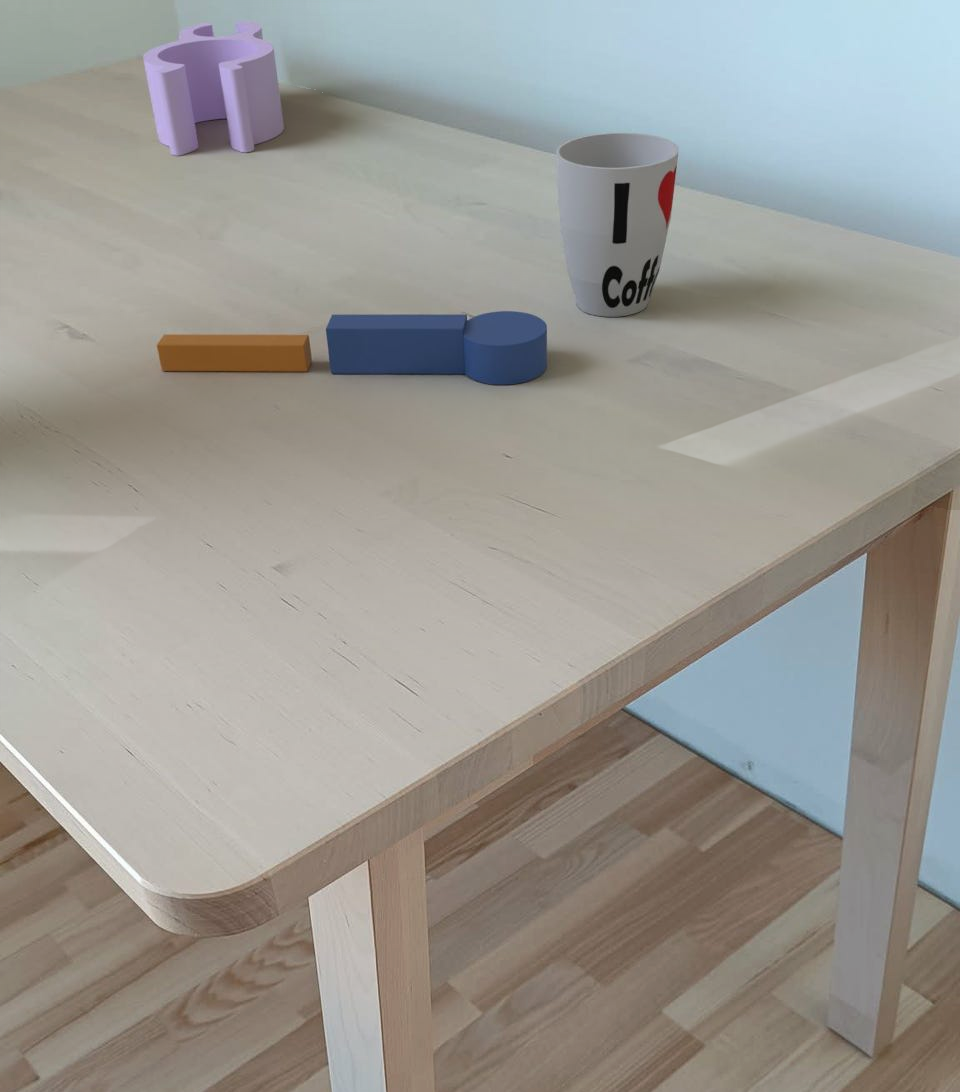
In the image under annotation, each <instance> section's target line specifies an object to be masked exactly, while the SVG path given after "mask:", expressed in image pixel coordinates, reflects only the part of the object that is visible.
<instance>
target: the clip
mask: <svg viewBox="0 0 960 1092" xmlns="http://www.w3.org/2000/svg"><path fill="white" fill-rule="evenodd" d="M262 29H263V28H262V25H261V24H259V23H257V22H252V21H246V20H242V21H237V22H235V31H236V33H234V34H229V35H222V36H221V35H219V36H214V35H215V34H214V29H213V24H212V23H211V22H204V23H203V22H202V23H197V24H194V25H190V26H187V27H185V28H184V27H183V28H182V29H180V31H178V37H179V39H177V40H175V41H172V42H168V43H165V44H161V45H157V46H156V47H153V48H151V49H149V50H147V51H146V52H145V53H144V54H143V55H142V59H143V65H144V69H145V75H146V81H147V86H148V92H149V96H150V101H151V107H152V112H153V118H154V122H155V128H156V132H157V133H156V134H157V138H158V141H159V143H161V144H162V145H164V146H167V147H169V150H170V155H171V156H176V157H177V156H178V157H179V156H184V155H186V154H189V153H192V152H194V151H197V149H199V141H198V135H197V128H196V124H197V123H201V122H206V121H211V120H212V121H213V120H223V119H224V120H225V119H226V122H227V127H228V133H229V140H230V146H231V147H232V149H233V150H234V151H238V152H239V153H240V152H241V153H250V152H255V145H259V144H262V143H264V142H267V141H270V140H272V139H274V138H276V137H278V136H279V135H281V134H282V133H283V131H284V129H285V125H284V118H283V117H284V116H283V110H282V102H281V94H280V86H279V79H278V70H277V62H276V55H275V48H274V47H275V46H274V44H273V43H272V42H270V41H268V40H265V39H264V35H263V30H262Z"/></svg>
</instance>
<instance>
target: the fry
mask: <svg viewBox="0 0 960 1092" xmlns="http://www.w3.org/2000/svg"><path fill="white" fill-rule="evenodd" d="M311 348H312V347H311V341H310V335H309V334H183V333H182V334H167V333H166V334H163V335H162V336H161V338H160V340H159V341H158V342H157V344H156V349H157V353H158V357H159V362H160V367H161V371H163V372H293V373H295V372H296V373H297V372H302V373H303V372H304V373H305V372H308V370H309V368H310V366H311V364H312V362H313V357H312V349H311Z"/></svg>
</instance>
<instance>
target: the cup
mask: <svg viewBox="0 0 960 1092" xmlns="http://www.w3.org/2000/svg"><path fill="white" fill-rule="evenodd" d="M679 151H680V148H679V146H678V144H676V143H675V142H674V141H672V140H669V139H668V138H665V137H661V136H657V135H652V134H646V133H636V132H609V133H608V132H606V133H597V134H590V135H585V136H580V137H576V138H573V139H570V140H568V141H566V142H563V143H562V144H560V145H559V146H558V147H557V148H556V150H555V159H556V176H557V177H556V178H557V197H558V199H557V200H558V217H559V225H560V232H561V237H562V243H563V245H562V246H563V250H564V259H565V264H566V270H567V274H568V277H569V281H570V284H571V288H572V291H573V294H574V298H575V302H576V305H577V307H578V309H579V310H580V311H582V312H584V313H586V314H589V315H592V316H597V317H606V318H617V317H625V316H631V315H634V314H637V313H639V312H642V311H643V310H645V309H646V308H647V306H648V304H649V301H650V298H651V295H652V292H653V290H654V286H655V284H656V281H657V278H658V275H659V272H660V270H661V265H662V261H663V257H664V251H665V247H666V242H667V236H668V232H669V228H670V224H671V223H670V222H671V218H672V210H673V202H674V194H675V186H676V185H675V184H676V176H677V168H678V167H677V166H678V159H679Z"/></svg>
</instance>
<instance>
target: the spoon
mask: <svg viewBox="0 0 960 1092" xmlns="http://www.w3.org/2000/svg"><path fill="white" fill-rule="evenodd" d="M325 336H326V343H327V354H328V362H329V368H330V369H329V370H330V374H332V375H333V374H338V375H339V374H341V375H343V374H346V375H351V374H352V375H353V374H354V375H385V374H386V375H466V377H468V378H469V379H471V380H473V381H476V382H479V383H482V384H486V385H487V384H488V385H495V386H497V385H498V386H499V385H500V386H501V385H502V386H504V385H505V386H509V385H517V384H523V383H526V382H530V381H532V380H534V379H537V378H539V377H540V376H542V375H543V374H544V373H545V371H546V370H547V367H548V327H547V322H546V321H545V320H544V319H542V318H541V317H539V316H537V315H535V314H532V313H528V312H522V311H514V310H501V311H492V312H491V311H490V312H486V313H481V314H479V315H475V316H473V317H471V318H469V319H468V314H465V313H464V314H462V313H461V314H456V313H455V314H452V313H451V314H450V313H449V314H448V313H447V314H443V313H442V314H439V313H438V314H434V313H433V314H431V313H430V314H429V313H427V314H426V313H425V314H419V313H418V314H417V313H416V314H415V313H414V314H409V313H408V314H331V316H330V318H329V320H328V323H327V325H326V327H325Z"/></svg>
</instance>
